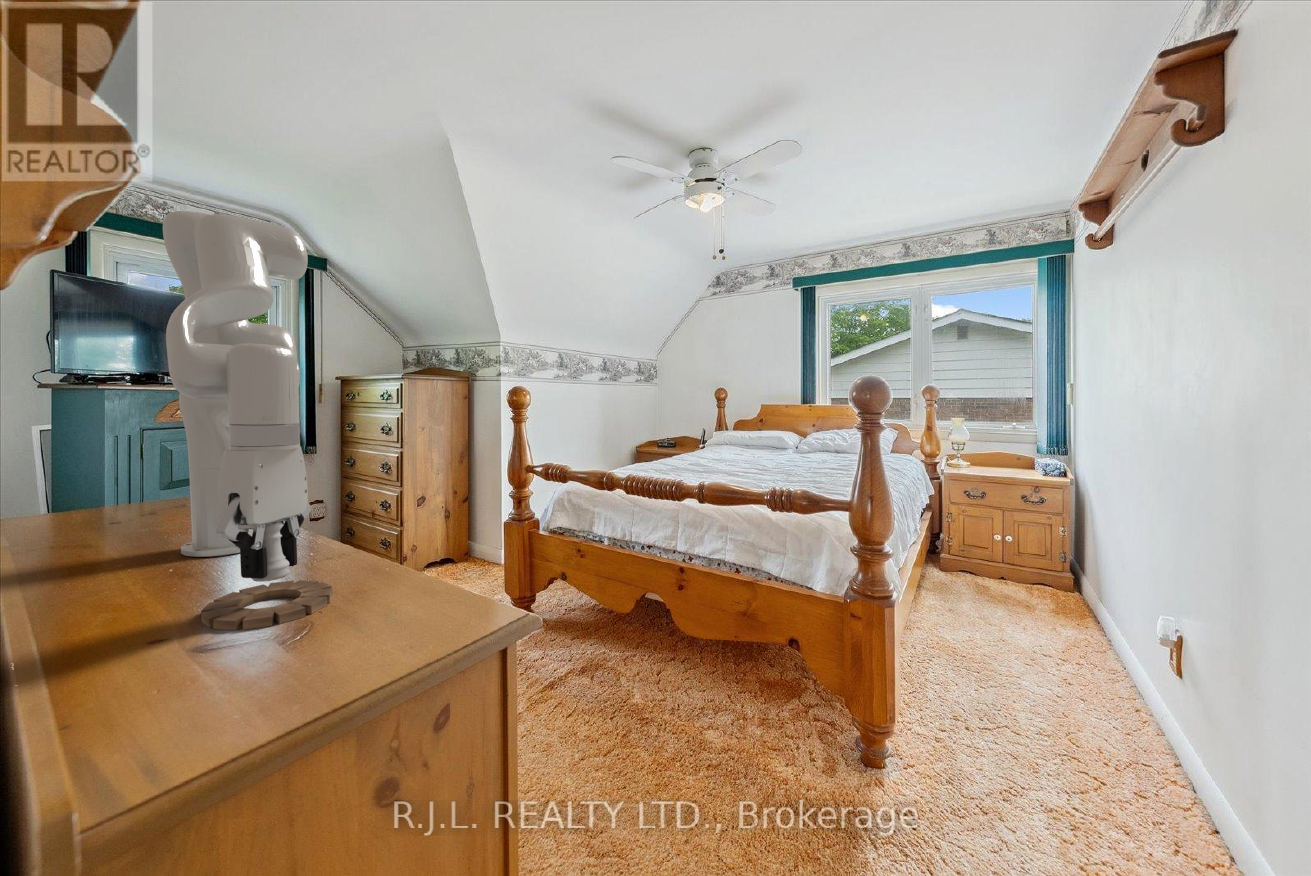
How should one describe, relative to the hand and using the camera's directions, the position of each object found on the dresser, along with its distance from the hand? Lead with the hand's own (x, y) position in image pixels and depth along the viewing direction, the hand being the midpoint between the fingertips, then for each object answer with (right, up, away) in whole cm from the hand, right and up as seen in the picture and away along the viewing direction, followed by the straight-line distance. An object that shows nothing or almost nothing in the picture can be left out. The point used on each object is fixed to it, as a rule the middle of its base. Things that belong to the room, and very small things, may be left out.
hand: (270, 569), depth 69 cm
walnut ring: (0, -5, 0) cm, 5 cm away
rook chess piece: (0, -1, 0) cm, 1 cm away
